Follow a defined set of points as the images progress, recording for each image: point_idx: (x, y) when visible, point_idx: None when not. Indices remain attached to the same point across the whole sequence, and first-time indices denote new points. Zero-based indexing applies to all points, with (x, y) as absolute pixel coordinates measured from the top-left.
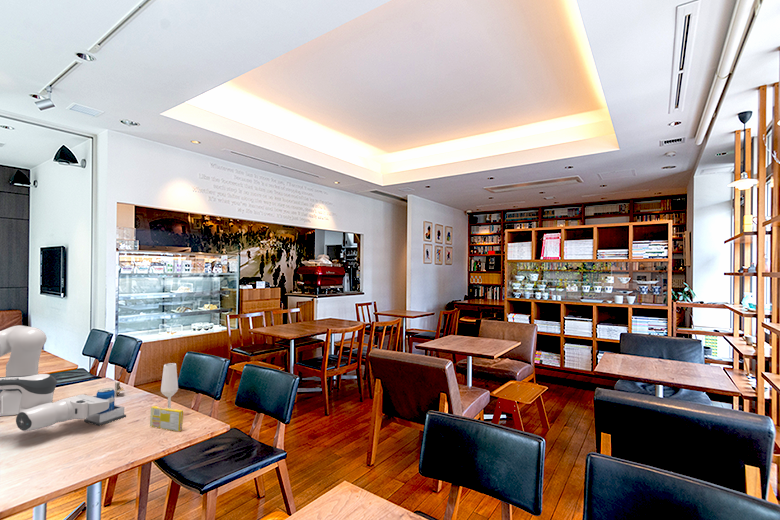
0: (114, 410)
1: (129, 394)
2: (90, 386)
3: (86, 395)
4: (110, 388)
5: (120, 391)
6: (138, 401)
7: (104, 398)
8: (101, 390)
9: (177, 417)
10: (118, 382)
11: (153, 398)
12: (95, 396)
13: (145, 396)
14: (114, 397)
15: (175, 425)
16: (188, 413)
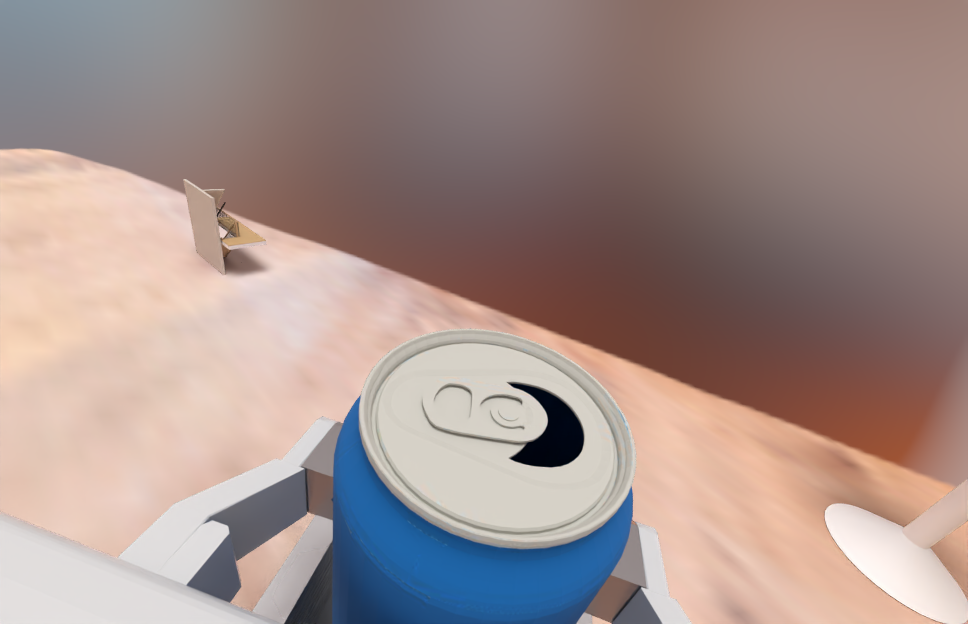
0: (591, 621)
1: (283, 259)
2: (2, 180)
3: (33, 590)
4: (484, 342)
5: (247, 246)
6: (400, 322)
7: (578, 616)
8: (418, 423)
9: None
10: (216, 190)
11: (447, 300)
12: (264, 496)
13: (386, 281)
14: (547, 459)
15: None
16: (836, 456)
